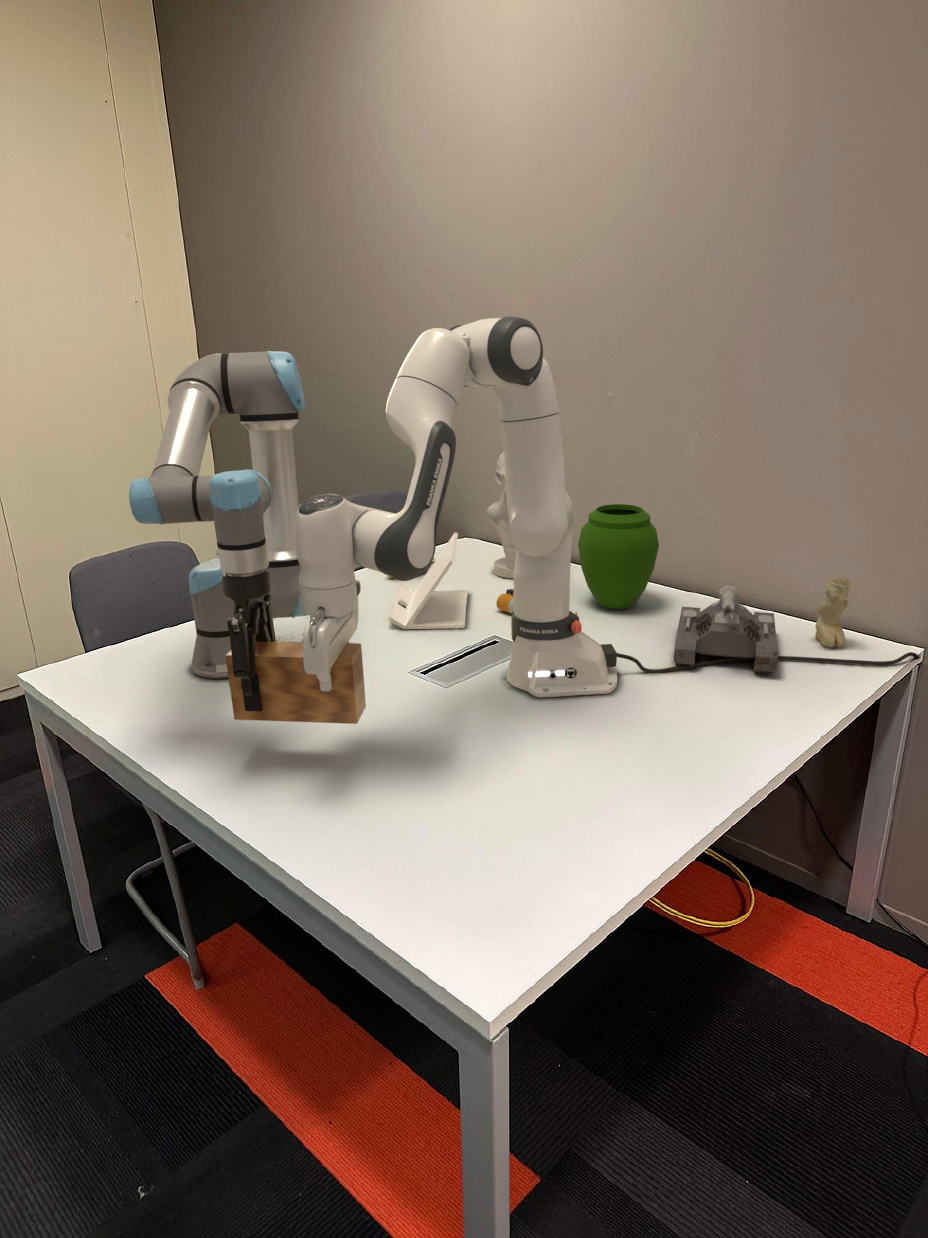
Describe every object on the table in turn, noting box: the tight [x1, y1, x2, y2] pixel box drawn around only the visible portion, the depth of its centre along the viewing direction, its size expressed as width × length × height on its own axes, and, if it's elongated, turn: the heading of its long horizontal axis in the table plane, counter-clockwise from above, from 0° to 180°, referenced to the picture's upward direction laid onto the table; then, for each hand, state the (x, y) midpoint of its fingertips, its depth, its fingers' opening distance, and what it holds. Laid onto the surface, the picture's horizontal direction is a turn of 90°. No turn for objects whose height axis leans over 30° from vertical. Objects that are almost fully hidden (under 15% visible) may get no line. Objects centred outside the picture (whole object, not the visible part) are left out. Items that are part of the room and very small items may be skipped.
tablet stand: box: [388, 531, 468, 630], centre depth 211 cm, size 18×25×17 cm
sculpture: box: [814, 576, 852, 648], centre depth 185 cm, size 6×7×15 cm
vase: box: [577, 503, 660, 610], centre depth 210 cm, size 20×20×24 cm
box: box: [226, 641, 367, 725], centre depth 142 cm, size 21×6×12 cm, turn 83°
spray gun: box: [495, 588, 514, 614], centre depth 214 cm, size 4×17×15 cm
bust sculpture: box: [485, 451, 516, 579], centre depth 231 cm, size 16×24×35 cm
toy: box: [673, 584, 779, 674], centre depth 182 cm, size 25×20×15 cm
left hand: (261, 700), depth 144 cm, fingers closed on box, 6 cm apart
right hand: (334, 677), depth 141 cm, fingers open, 8 cm apart
